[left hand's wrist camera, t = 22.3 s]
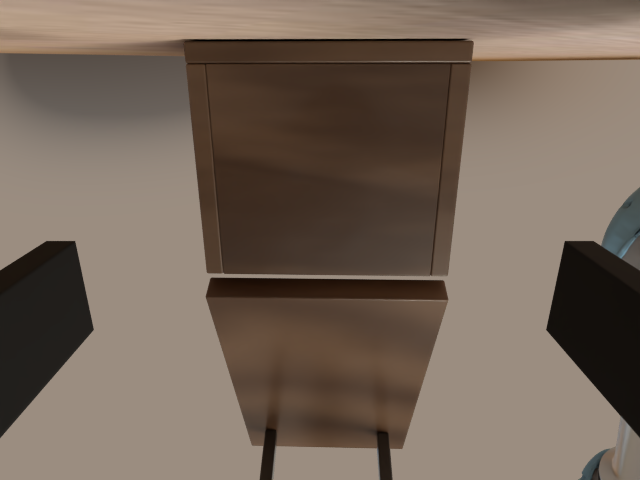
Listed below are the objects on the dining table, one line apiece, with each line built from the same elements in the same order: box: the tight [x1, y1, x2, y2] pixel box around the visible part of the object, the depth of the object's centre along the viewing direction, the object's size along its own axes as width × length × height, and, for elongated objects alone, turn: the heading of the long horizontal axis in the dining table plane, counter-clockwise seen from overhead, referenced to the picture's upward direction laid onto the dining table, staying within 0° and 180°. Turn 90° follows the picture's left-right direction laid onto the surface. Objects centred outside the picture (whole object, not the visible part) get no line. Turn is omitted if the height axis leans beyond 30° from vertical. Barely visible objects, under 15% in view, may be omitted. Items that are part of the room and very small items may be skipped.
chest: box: [184, 41, 474, 276], centre depth 24 cm, size 15×10×9 cm, turn 2°
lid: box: [206, 278, 448, 480], centre depth 21 cm, size 16×10×8 cm
